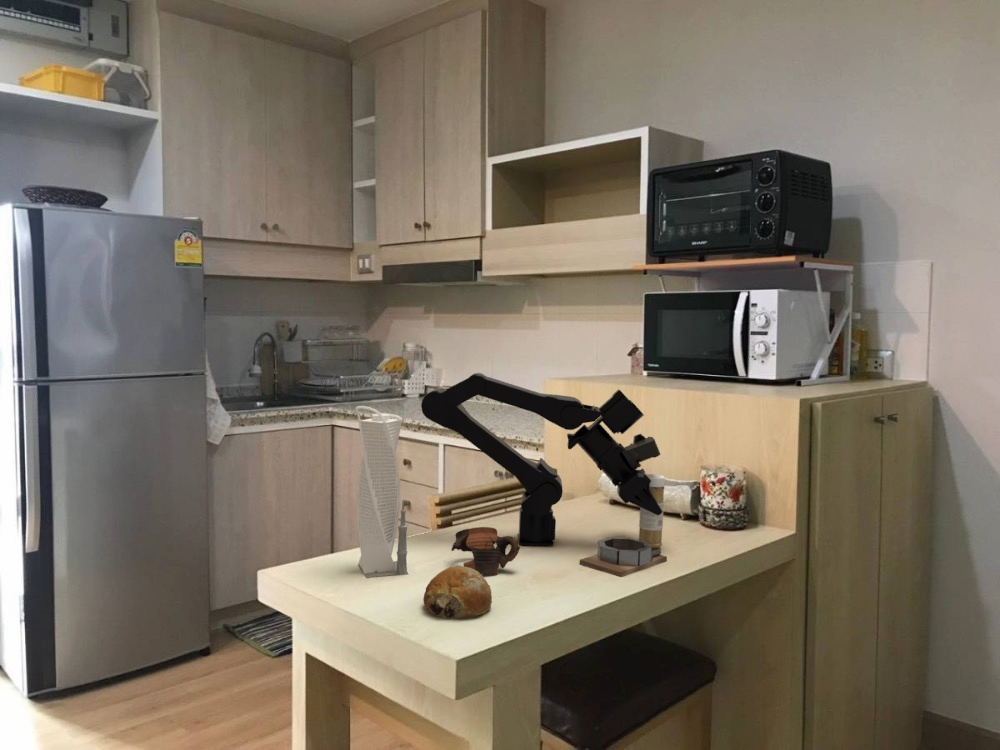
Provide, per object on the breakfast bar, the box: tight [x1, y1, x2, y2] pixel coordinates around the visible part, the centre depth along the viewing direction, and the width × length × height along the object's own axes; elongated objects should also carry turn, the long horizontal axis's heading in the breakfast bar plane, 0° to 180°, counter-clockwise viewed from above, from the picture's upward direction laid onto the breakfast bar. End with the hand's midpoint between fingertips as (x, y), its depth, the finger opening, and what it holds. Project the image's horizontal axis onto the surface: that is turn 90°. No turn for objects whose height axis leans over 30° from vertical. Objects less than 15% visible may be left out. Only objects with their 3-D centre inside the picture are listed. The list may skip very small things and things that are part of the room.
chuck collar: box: [597, 536, 662, 566], centre depth 146 cm, size 11×9×2 cm
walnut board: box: [579, 553, 668, 577], centre depth 146 cm, size 14×9×1 cm, turn 136°
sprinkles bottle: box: [638, 473, 666, 549], centre depth 155 cm, size 5×5×14 cm
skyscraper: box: [354, 405, 409, 579], centre depth 136 cm, size 8×8×28 cm
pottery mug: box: [451, 526, 521, 576], centre depth 140 cm, size 12×10×8 cm
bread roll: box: [422, 565, 493, 620], centre depth 121 cm, size 10×10×8 cm
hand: (658, 510), depth 155 cm, fingers closed on sprinkles bottle, 4 cm apart
